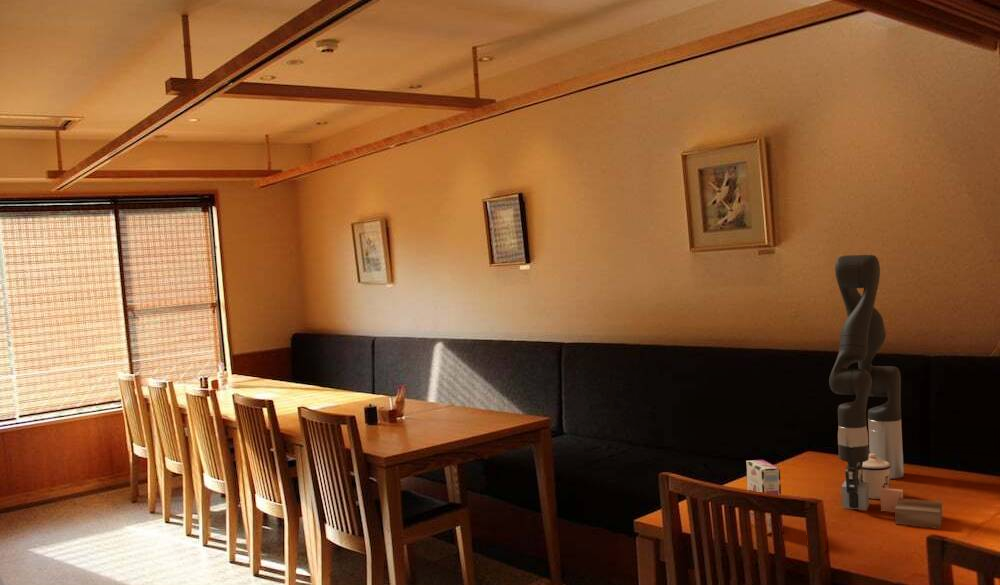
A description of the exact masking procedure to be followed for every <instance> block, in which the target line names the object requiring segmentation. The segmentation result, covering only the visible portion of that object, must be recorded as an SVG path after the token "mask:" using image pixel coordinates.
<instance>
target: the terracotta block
mask: <svg viewBox="0 0 1000 585" xmlns="http://www.w3.org/2000/svg"><path fill="white" fill-rule="evenodd" d="M880 498H881V499H880V512H882V511H890V512H889V513H894V512H895V507H896V504H897V502H898V499H899V498H903V499H904V489H900V488H899V489H898V488H890V489H888V488H882V490H881V492H880Z"/></svg>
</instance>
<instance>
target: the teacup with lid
mask: <svg viewBox="0 0 1000 585" xmlns="http://www.w3.org/2000/svg"><path fill="white" fill-rule="evenodd" d="M862 466H863V482H866V483H868V486H869V498H870V499H869V500H871V499H872V500H881V498H880V492H881V490H882V488H888V489H891V479H890V464H889V463H888V462H886V461H883V460H881V459H880V458H877V457H876V454H870V453H869V459H868V460H867V461H865V462H863V464H862Z"/></svg>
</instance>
